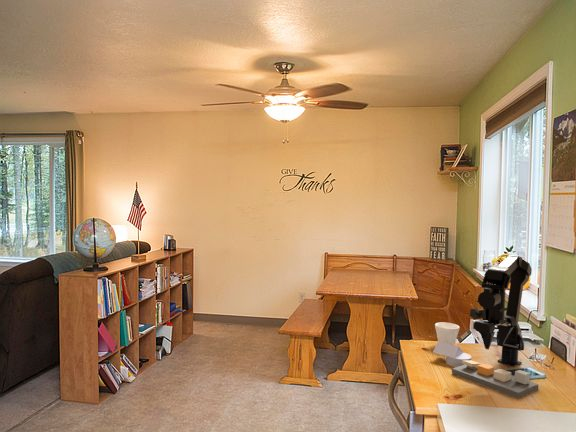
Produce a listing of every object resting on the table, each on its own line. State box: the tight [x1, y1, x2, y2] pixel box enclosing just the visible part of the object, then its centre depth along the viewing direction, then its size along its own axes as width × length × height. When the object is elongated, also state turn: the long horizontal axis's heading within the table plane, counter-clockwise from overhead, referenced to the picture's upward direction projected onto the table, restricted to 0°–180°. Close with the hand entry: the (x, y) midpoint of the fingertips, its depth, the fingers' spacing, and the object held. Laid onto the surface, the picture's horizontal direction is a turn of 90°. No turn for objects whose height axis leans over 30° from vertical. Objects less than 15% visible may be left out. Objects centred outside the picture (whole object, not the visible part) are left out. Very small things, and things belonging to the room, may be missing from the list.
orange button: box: [477, 362, 495, 376], centre depth 162 cm, size 4×4×2 cm
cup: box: [434, 321, 460, 346], centre depth 196 cm, size 10×10×9 cm
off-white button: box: [493, 368, 512, 382], centre depth 157 cm, size 4×4×2 cm
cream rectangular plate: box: [462, 359, 482, 367], centre depth 166 cm, size 6×4×1 cm, turn 126°
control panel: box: [451, 365, 539, 400], centre depth 159 cm, size 13×24×3 cm, turn 36°
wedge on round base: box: [432, 341, 472, 368], centre depth 177 cm, size 9×7×13 cm
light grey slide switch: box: [514, 369, 531, 384], centre depth 154 cm, size 3×4×3 cm
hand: (494, 346), depth 164 cm, fingers open, 9 cm apart
